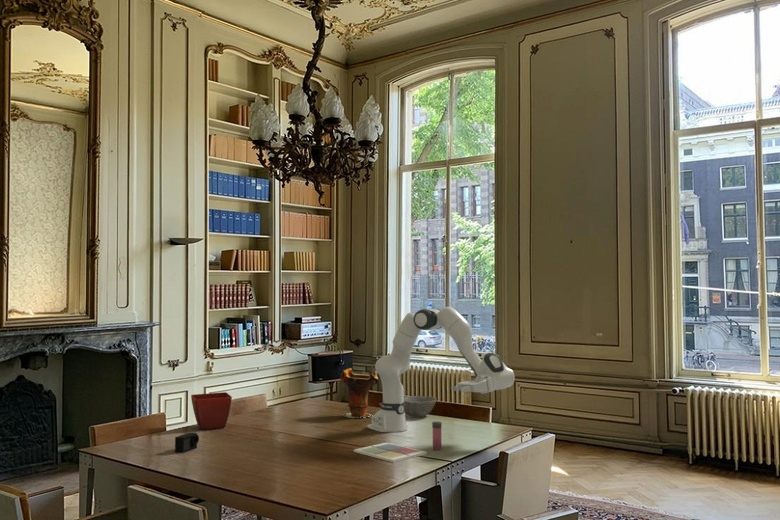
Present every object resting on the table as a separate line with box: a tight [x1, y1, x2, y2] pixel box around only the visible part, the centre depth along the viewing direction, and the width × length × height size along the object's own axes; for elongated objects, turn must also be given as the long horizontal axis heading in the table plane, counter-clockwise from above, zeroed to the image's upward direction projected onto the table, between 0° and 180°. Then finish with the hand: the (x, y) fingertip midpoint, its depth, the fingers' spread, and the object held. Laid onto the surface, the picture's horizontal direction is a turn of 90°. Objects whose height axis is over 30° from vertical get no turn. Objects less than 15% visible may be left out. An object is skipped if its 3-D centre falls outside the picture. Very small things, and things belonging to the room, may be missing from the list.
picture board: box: [353, 442, 428, 463], centre depth 282 cm, size 26×20×1 cm
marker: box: [431, 421, 443, 451], centre depth 289 cm, size 4×4×12 cm
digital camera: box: [174, 432, 200, 454], centre depth 291 cm, size 10×5×7 cm, turn 160°
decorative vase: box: [339, 367, 379, 419], centre depth 373 cm, size 20×22×27 cm
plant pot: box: [190, 391, 233, 430], centre depth 344 cm, size 19×19×17 cm
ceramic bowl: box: [404, 395, 438, 418], centre depth 371 cm, size 22×23×10 cm
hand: (456, 389), depth 295 cm, fingers open, 8 cm apart
